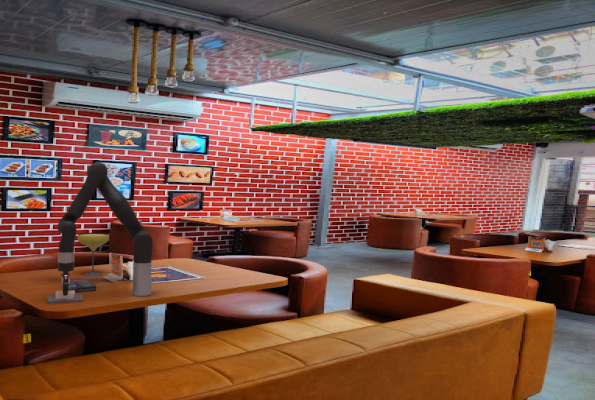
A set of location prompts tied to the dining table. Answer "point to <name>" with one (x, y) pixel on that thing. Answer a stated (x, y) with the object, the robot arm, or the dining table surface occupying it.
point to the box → (81, 286)
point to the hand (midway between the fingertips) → (65, 293)
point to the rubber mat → (76, 299)
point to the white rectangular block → (60, 296)
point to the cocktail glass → (93, 245)
